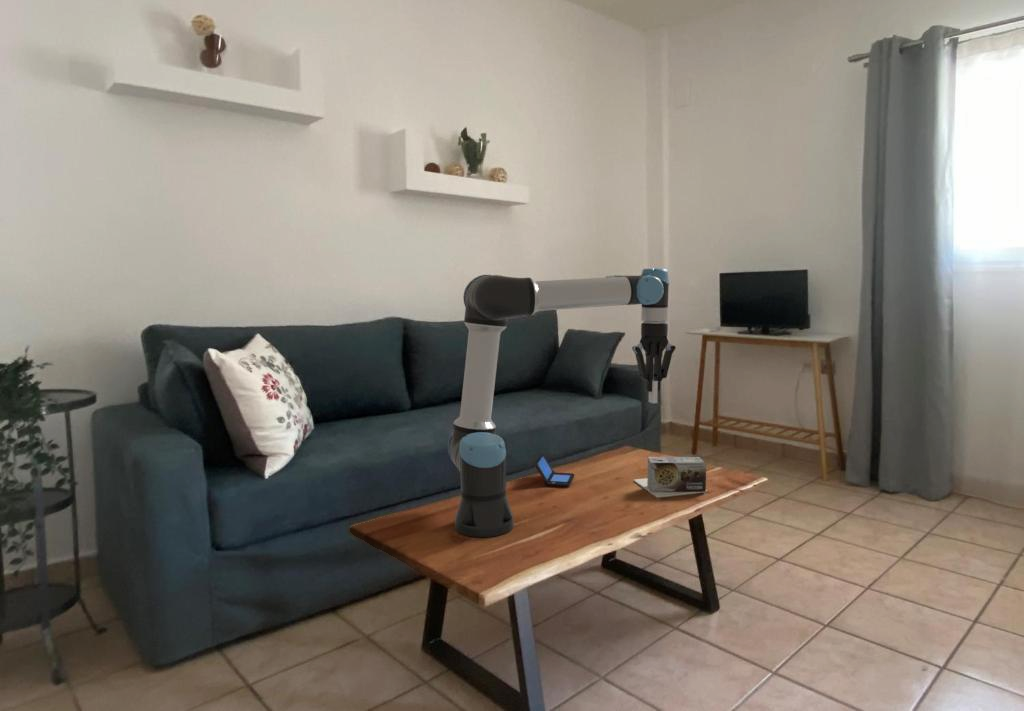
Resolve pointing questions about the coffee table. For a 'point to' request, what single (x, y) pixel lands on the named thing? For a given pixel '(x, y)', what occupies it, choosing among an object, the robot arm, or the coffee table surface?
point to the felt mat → (660, 494)
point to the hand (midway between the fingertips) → (652, 402)
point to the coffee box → (676, 474)
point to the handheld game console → (552, 474)
